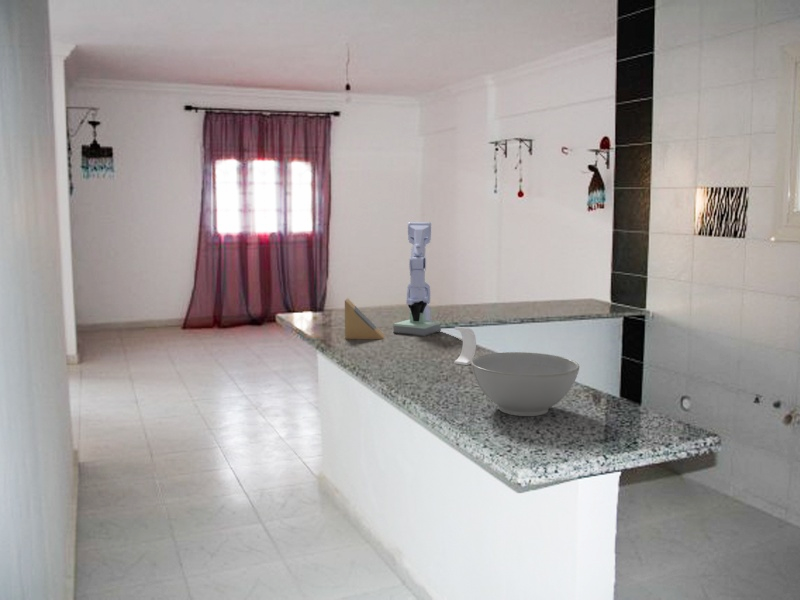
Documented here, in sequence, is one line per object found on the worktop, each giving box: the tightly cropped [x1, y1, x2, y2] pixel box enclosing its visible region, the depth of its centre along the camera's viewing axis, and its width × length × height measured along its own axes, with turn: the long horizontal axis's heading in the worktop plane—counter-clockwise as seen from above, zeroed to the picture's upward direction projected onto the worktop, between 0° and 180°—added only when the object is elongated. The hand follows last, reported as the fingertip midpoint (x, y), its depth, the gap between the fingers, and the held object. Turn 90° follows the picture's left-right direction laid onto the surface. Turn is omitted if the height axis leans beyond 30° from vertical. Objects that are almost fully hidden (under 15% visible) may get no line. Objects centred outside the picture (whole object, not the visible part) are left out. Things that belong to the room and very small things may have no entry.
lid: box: [392, 311, 442, 329], centre depth 300 cm, size 14×14×5 cm
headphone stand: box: [453, 326, 477, 366], centre depth 243 cm, size 5×6×12 cm
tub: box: [392, 324, 442, 337], centre depth 301 cm, size 14×14×3 cm
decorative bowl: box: [470, 351, 580, 417], centre depth 188 cm, size 27×27×12 cm
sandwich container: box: [344, 297, 386, 340], centre depth 289 cm, size 9×15×15 cm, turn 88°
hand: (417, 320), depth 301 cm, fingers closed on lid
